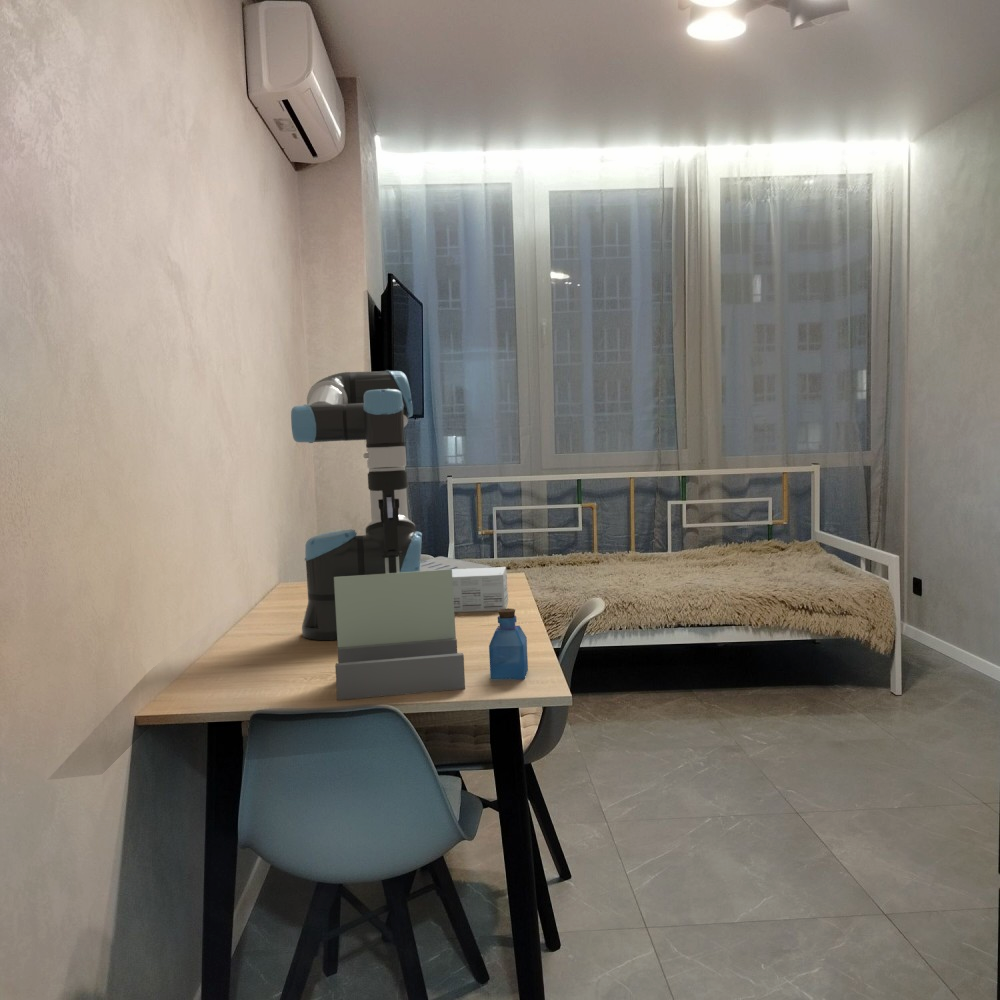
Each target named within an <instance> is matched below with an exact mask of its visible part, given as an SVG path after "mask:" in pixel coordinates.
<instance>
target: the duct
mask: <svg viewBox="0 0 1000 1000" xmlns="http://www.w3.org/2000/svg"><path fill="white" fill-rule="evenodd" d="M464 657H465V656H464V653H463V652H458V639H457V637H456V638H450V639H438V640H426V641H413V642H401V643H388V644H376V645H363V646H351V647H338V646H337V662H336V663H335V665H334V666H335V669H334V670H335V682H336V685H335V686H336V700H337V701H343V700H351V699H352V700H356V699H364V698H376V697H388V696H399V695H409V694H421V693H430V692H431V693H432V692H433V693H435V692H443V691H455V690H465V689H466V679H465V676H466V675H465V660H464V659H465V658H464Z"/></svg>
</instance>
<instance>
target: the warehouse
mask: <svg viewBox="0 0 1000 1000" xmlns="http://www.w3.org/2000/svg"><path fill="white" fill-rule="evenodd" d="M493 567H494V565H490V564H484V563H478V562H473V561H468V560H463V559H457V558H453V557H446V556H443V555H439V556H437V557H436V556H435V557H433V558H429V559H425V560H423V561H420V571H430V570H445V569H471V568H493Z"/></svg>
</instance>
